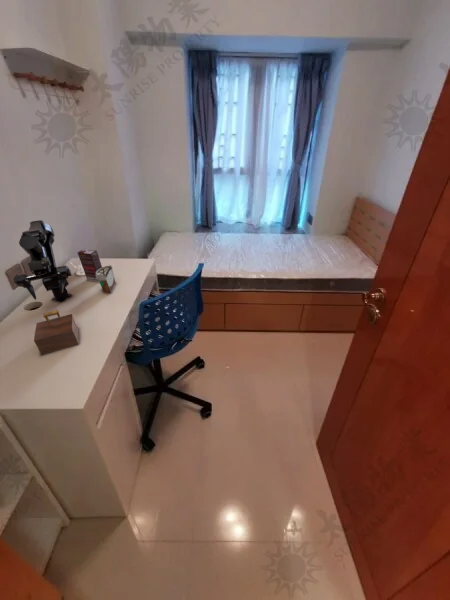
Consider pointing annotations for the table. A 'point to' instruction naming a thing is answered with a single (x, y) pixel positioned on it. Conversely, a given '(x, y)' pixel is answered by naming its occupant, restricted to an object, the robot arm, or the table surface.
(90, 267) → the supplement box
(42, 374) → the table surface
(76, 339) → the caddy
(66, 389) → the table surface
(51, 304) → the table surface
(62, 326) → the brown wooden lid
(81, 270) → the shell
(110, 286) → the food container
